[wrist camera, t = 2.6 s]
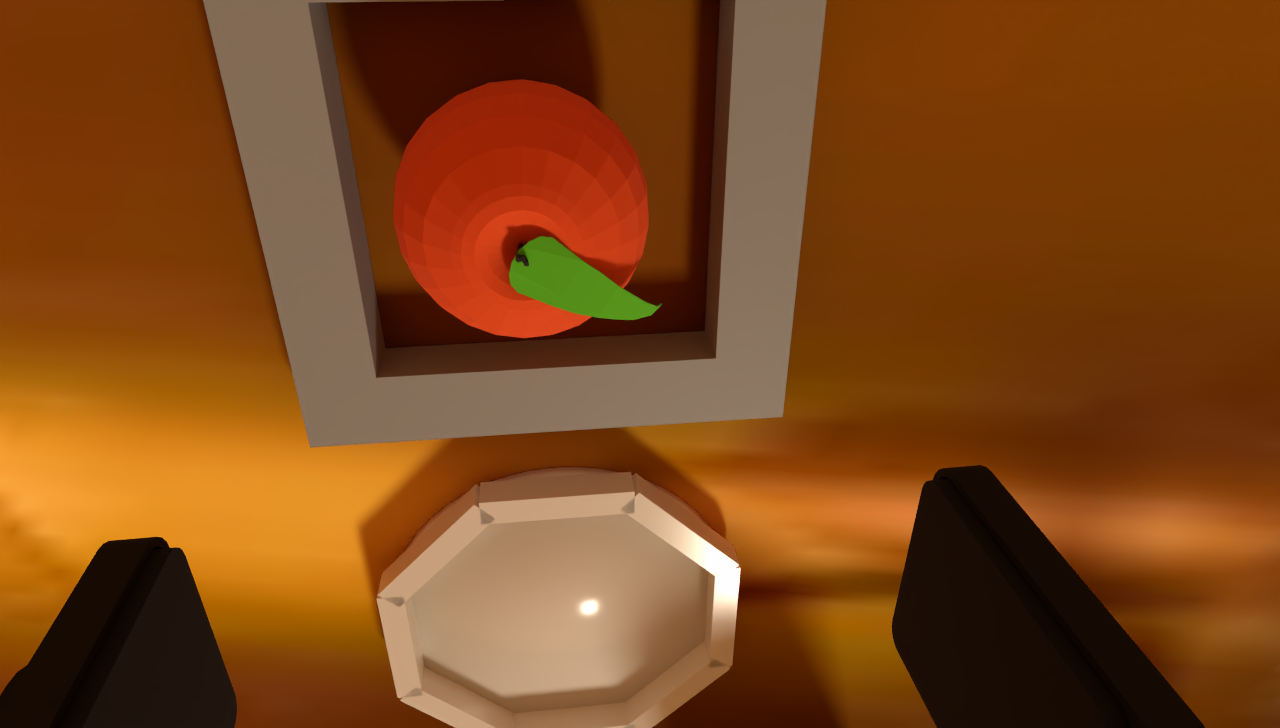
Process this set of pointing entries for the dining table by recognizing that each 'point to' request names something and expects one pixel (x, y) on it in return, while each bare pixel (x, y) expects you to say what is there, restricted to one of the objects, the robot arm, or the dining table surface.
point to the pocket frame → (532, 369)
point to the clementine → (523, 210)
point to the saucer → (560, 604)
